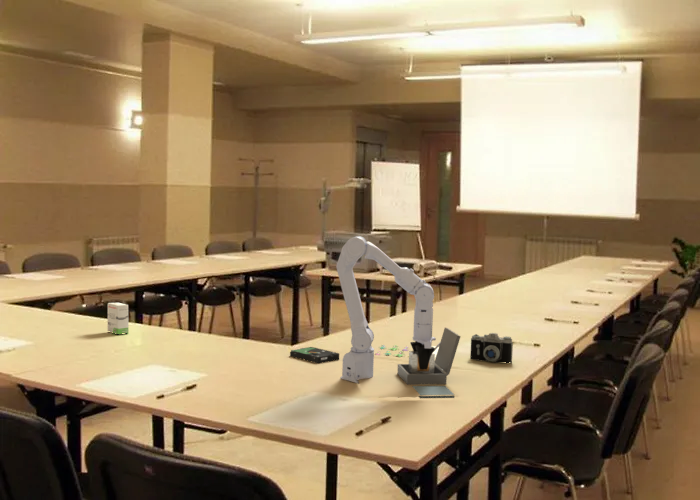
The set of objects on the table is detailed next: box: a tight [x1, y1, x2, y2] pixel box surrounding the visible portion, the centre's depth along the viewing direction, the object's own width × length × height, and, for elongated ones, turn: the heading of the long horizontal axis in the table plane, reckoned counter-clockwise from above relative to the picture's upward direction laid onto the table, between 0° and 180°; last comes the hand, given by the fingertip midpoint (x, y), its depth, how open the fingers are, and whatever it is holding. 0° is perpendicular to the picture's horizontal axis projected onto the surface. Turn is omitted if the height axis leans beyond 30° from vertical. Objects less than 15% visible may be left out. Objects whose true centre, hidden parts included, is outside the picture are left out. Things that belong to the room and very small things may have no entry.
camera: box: [469, 332, 514, 364], centre depth 267 cm, size 15×7×10 cm, turn 67°
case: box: [397, 327, 461, 386], centre depth 235 cm, size 16×15×16 cm
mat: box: [412, 385, 455, 399], centre depth 221 cm, size 10×10×1 cm
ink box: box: [107, 302, 129, 334], centre depth 300 cm, size 9×5×12 cm, turn 45°
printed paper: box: [375, 344, 439, 358], centre depth 279 cm, size 30×30×2 cm
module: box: [408, 350, 436, 374], centre depth 234 cm, size 7×5×6 cm
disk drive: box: [289, 346, 340, 364], centre depth 265 cm, size 10×3×15 cm
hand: (421, 367), depth 234 cm, fingers closed on module, 5 cm apart
